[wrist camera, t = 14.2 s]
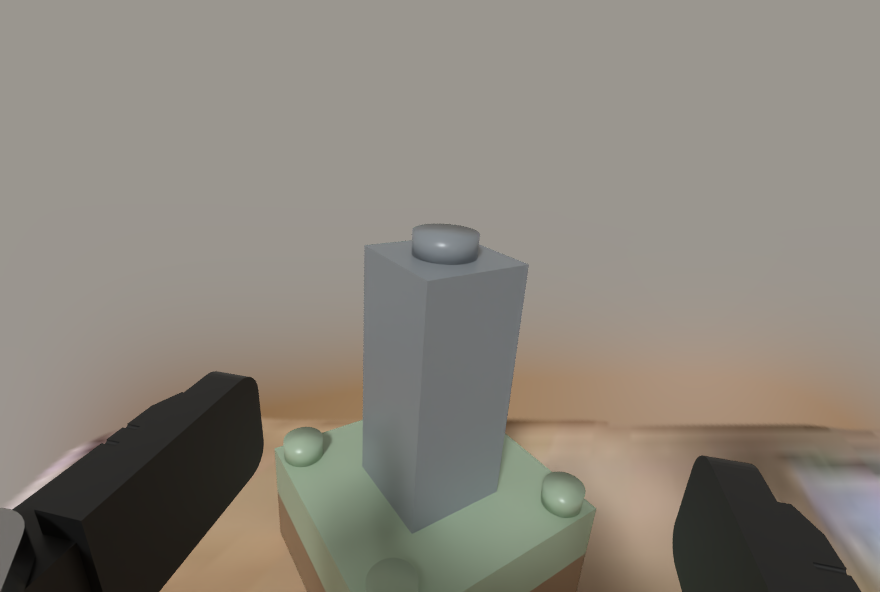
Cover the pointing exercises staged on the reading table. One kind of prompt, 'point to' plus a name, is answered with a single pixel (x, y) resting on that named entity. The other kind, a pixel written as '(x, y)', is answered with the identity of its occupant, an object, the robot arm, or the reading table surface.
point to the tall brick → (438, 368)
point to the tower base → (436, 546)
